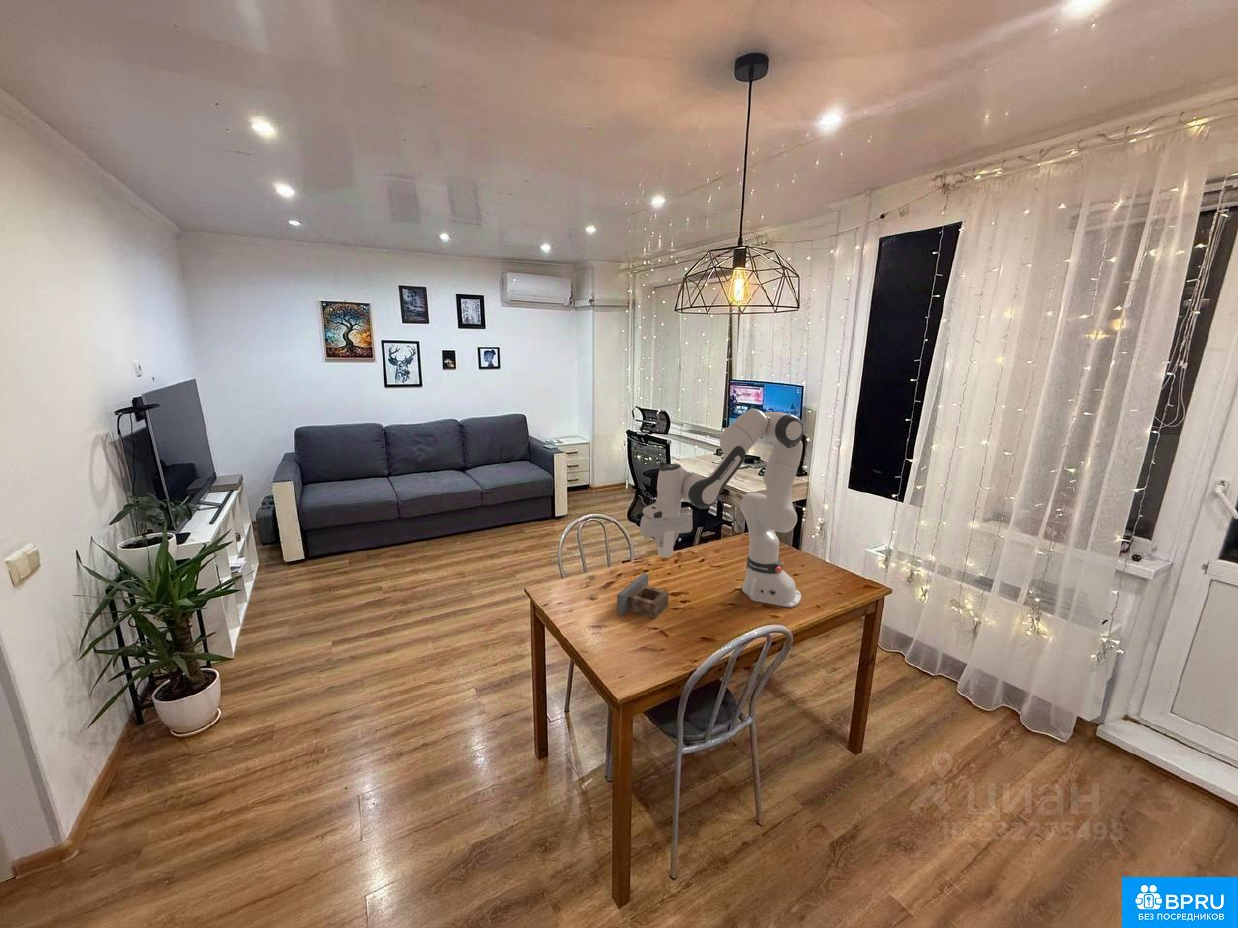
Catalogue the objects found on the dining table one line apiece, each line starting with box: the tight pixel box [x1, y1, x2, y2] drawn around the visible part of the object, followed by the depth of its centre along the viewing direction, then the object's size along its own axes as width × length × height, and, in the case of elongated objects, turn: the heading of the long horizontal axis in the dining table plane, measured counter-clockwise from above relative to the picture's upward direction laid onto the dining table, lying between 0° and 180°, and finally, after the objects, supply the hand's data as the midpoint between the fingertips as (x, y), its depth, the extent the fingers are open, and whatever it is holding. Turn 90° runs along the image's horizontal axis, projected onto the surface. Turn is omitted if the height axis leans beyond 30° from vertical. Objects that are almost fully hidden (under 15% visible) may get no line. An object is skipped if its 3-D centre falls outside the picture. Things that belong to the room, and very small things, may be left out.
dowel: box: [657, 530, 675, 559], centre depth 178 cm, size 4×4×10 cm
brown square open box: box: [627, 585, 670, 620], centre depth 182 cm, size 11×11×6 cm
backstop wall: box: [616, 572, 649, 617], centre depth 185 cm, size 2×20×8 cm, turn 149°
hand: (665, 545), depth 178 cm, fingers closed on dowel, 4 cm apart
